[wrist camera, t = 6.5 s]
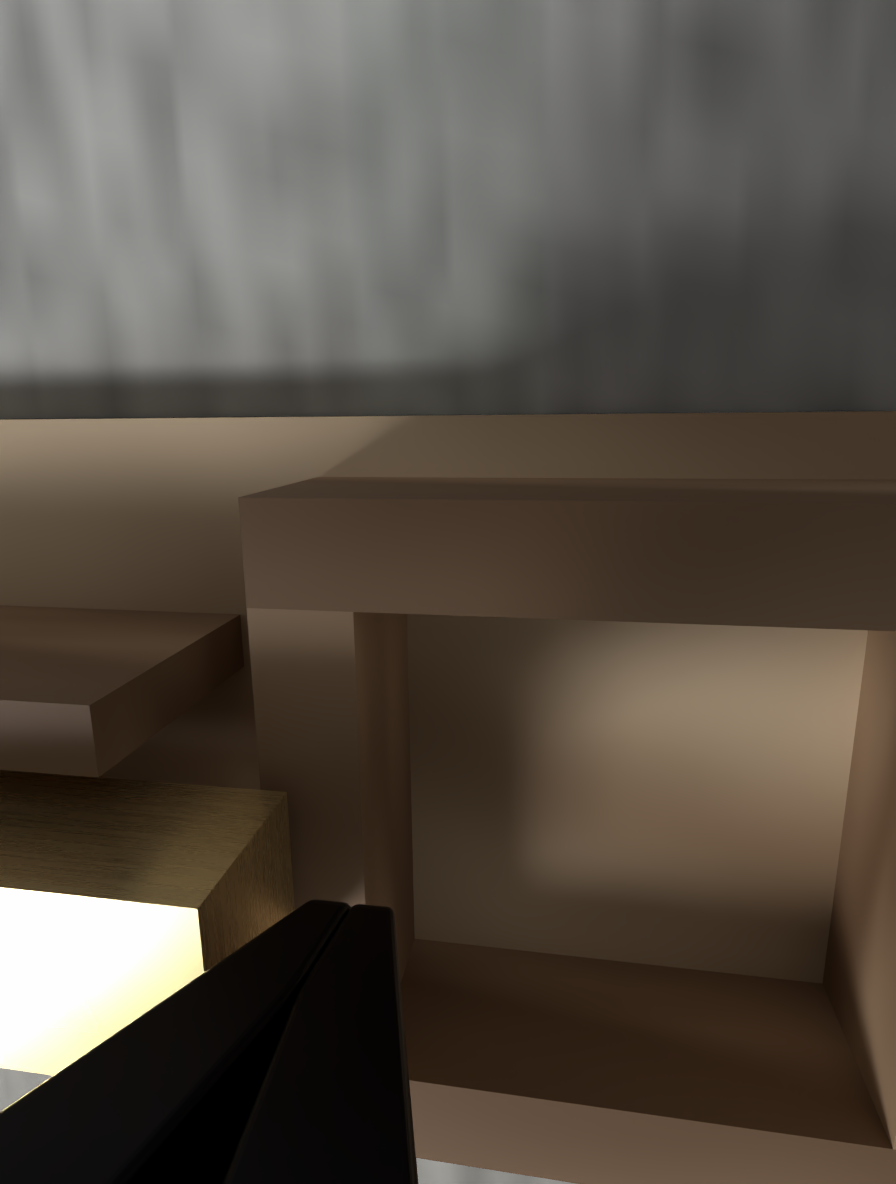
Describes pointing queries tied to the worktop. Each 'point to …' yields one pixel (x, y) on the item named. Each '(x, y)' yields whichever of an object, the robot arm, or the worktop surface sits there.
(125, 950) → the bar
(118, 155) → the worktop surface
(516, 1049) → the dock board
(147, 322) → the worktop surface
